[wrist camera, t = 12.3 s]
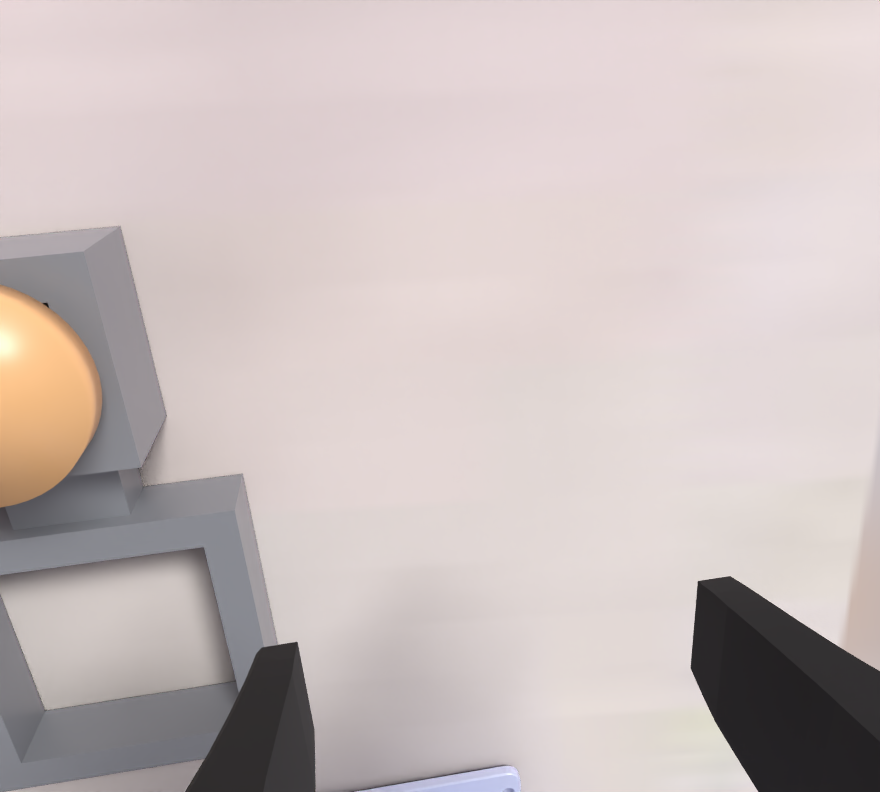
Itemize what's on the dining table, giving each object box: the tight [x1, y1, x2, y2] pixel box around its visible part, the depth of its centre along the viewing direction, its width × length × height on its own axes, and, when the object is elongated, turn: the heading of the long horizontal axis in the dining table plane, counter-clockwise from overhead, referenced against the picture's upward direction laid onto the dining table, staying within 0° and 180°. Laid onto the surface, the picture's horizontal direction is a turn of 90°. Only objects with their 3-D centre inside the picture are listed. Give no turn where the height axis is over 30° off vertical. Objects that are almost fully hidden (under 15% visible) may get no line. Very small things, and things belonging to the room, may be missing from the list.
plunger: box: [0, 285, 102, 508], centre depth 17 cm, size 5×5×4 cm
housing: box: [0, 226, 278, 792], centre depth 20 cm, size 16×9×3 cm, turn 4°
